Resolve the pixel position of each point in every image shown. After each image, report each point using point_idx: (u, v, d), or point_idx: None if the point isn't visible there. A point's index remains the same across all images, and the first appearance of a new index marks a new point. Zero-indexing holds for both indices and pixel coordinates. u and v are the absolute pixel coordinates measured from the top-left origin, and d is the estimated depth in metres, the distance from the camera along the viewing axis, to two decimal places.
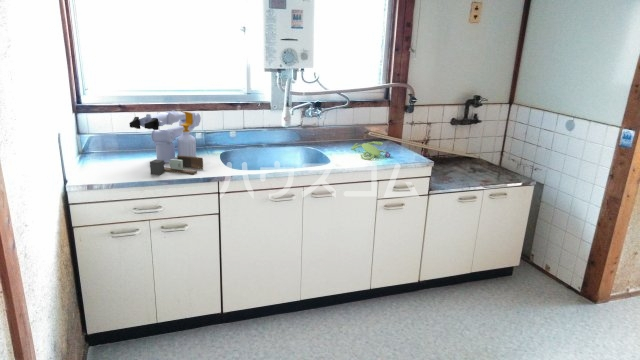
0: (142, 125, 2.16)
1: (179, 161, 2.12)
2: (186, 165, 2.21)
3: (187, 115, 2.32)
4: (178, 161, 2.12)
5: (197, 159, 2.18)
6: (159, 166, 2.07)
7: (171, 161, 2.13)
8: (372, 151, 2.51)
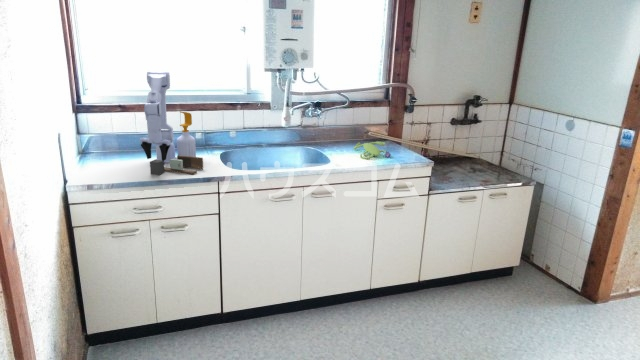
0: None
1: (179, 161, 2.12)
2: (186, 165, 2.21)
3: (186, 115, 2.32)
4: (178, 161, 2.12)
5: (197, 159, 2.18)
6: (159, 166, 2.07)
7: (171, 161, 2.13)
8: (372, 151, 2.52)
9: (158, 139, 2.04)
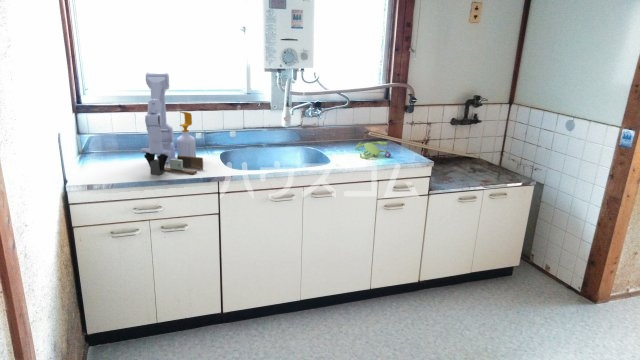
0: None
1: (179, 161, 2.12)
2: (186, 165, 2.21)
3: (186, 115, 2.32)
4: (178, 161, 2.12)
5: (197, 159, 2.18)
6: (159, 165, 2.07)
7: (171, 161, 2.13)
8: (372, 150, 2.52)
9: (159, 150, 2.06)
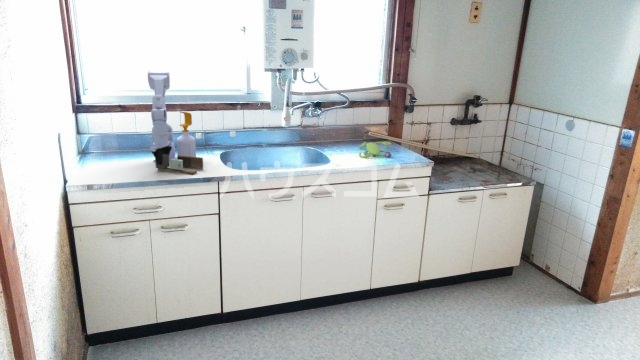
0: None
1: (179, 161, 2.12)
2: (186, 165, 2.21)
3: (186, 115, 2.32)
4: (178, 161, 2.12)
5: (197, 159, 2.18)
6: None
7: (171, 161, 2.13)
8: (371, 150, 2.53)
9: (155, 143, 2.10)
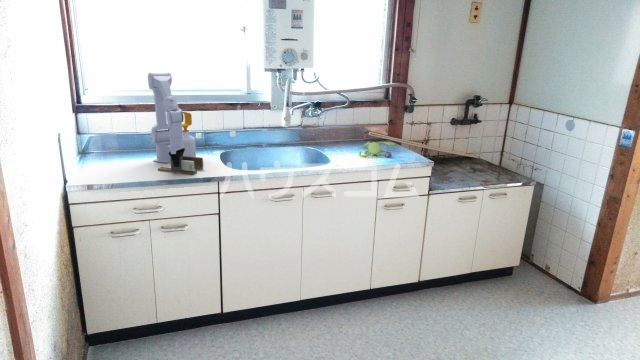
0: None
1: (191, 163, 2.10)
2: None
3: (186, 115, 2.32)
4: (190, 162, 2.10)
5: (197, 159, 2.18)
6: (171, 162, 2.10)
7: (182, 162, 2.11)
8: (372, 149, 2.54)
9: (172, 146, 2.08)
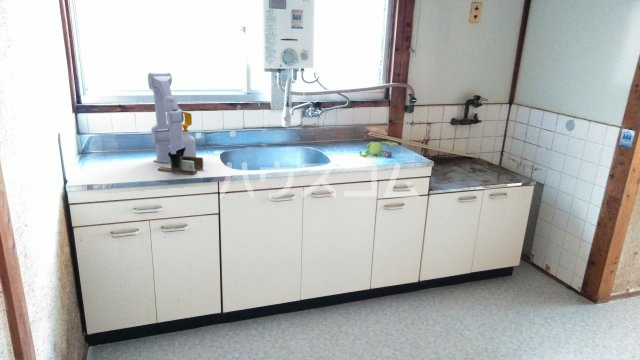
0: None
1: (191, 163, 2.10)
2: None
3: (186, 115, 2.32)
4: (190, 162, 2.10)
5: (197, 159, 2.18)
6: (171, 162, 2.10)
7: (182, 162, 2.11)
8: (372, 149, 2.55)
9: (172, 146, 2.08)
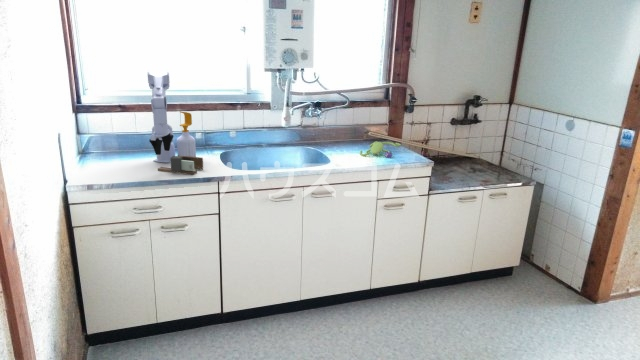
0: None
1: (191, 163, 2.10)
2: None
3: (186, 115, 2.32)
4: (190, 162, 2.10)
5: (197, 159, 2.18)
6: (171, 162, 2.10)
7: (182, 162, 2.11)
8: (372, 149, 2.56)
9: (155, 132, 2.05)
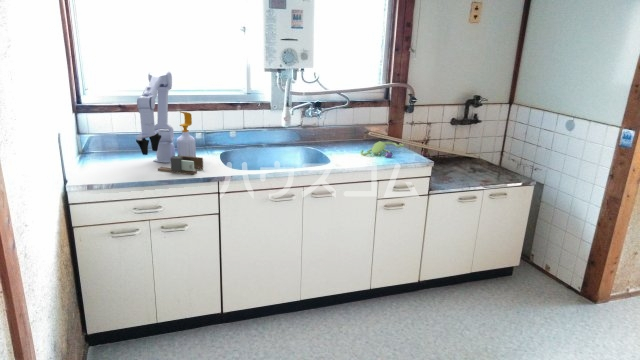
0: None
1: (191, 163, 2.10)
2: None
3: (186, 115, 2.32)
4: (190, 162, 2.10)
5: (197, 159, 2.18)
6: (171, 162, 2.10)
7: (182, 162, 2.11)
8: (373, 148, 2.57)
9: (142, 132, 2.04)
